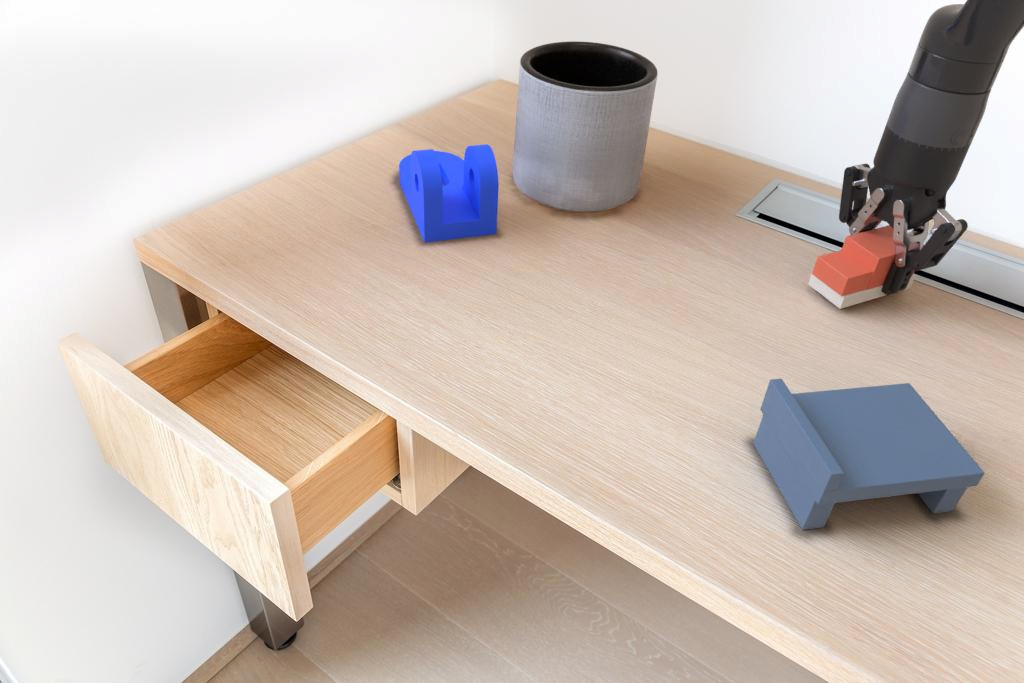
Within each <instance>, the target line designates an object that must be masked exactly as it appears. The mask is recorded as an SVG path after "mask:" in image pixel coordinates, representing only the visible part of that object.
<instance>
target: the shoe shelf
mask: <svg viewBox="0 0 1024 683" xmlns="http://www.w3.org/2000/svg"><path fill="white" fill-rule="evenodd" d="M760 412H761V413H762V417H761V421H760V423H759V426H758V429H757V430H756V434H755V438H754V440H753V446H754V448H755V450H756V451H757V453H758V455H759V456H760V459H761V460H762V462H763V464H764V465H765V467H766V469H767V471H768V472H769V474H770V475H771V478H772V479H773V481H774V483H775V485H776V487H777V488H778V490H779V491H780V493H781V495H782V497H783V498H784V500H785V503H786V504H787V506H788V508H789V509H790V511H791V513H792V515H793V516H794V518H795V520H796V522H797V523H798V525H799V527H800V528H801V530H802V531H804V530H806V531H807V530H812V529H822V528H824V527H825V525H826V523H827V521H828V519H829V517H830V515H831V513H832V510H833V508H834V507H835V504H837V503H845V502H854V501H862V500H870V499H878V498H880V499H881V498H888V497H896V496H904V495H913V494H917V495H918V496H919V497H920V499H921V500H922V501H923V503H924V504H925V505H926V507H927V508H928V510H929V511H930V512H931V513H932V514H941V513H949V512H953V511H954V510H955V508H956V506H957V505H958V504H959V502H960V501H961V499H962V497H963V496H964V494H965V493H966V491H967V489H968V488H972V487H977V486H978V485H979V483H980V482H981V480H982V478H983V477H984V476H985V474H986V473H985V471H984V470H983V469H982V467H980V465H979V464H978V463H977V461H976V460H975V459H974V458H973V456H971V455H970V453H969V452H968V451H967V449H965V447H964V446H963V445H962V444H961V442H959V440H958V439H957V438H956V437H955V436H954V434H953V433H952V432H951V431H950V430H949V429H948V427H947V426H946V425H945V424H944V422H943V421H942V420H941V419H940V418H939V417H938V416H937V414H936V413H935V411H933V409H932V408H931V407H930V406H929V405H928V403H927V402H926V401H925V400H924V399H923V397H922V396H921V395H920V394H919V392H917V390H916V389H915V388H914V387H913V386H912V384H911V383H909V382H906V383H905V382H904V383H896V384H883V385H874V386H873V385H872V386H863V387H861V386H860V387H851V388H850V387H849V388H841V389H831V390H829V389H828V390H819V391H809V392H798V393H792V392H791V391H790V389H789V388H788V386H787V385H786V383H785V381H784V380H783V378H772V379H769V382H768V385H767V388H766V391H765V394H764V397H763V400H762V403H761V405H760Z"/></svg>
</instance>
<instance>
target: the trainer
mask: <svg viewBox="0 0 1024 683" xmlns="http://www.w3.org/2000/svg"><path fill="white" fill-rule="evenodd" d="M924 245H925V244H923V246H924ZM909 247H910V246H909ZM895 249H896V244H895V243H893V228H892V227H891V226H890V225H889V224H888V225H885V226H881V227H876V228H875V229H873V230H869V231H865V232H861V233H857V234H853V235H851V234H849V235H846V236H845V239H844V242H843V245H842V248H841V250H837V251H832V252H829V253H826V254H821V255H819V256H817V257H816V260H815V263H814V266H813V269H812V272H811V274H810V277H809V280H808V283H807V284H808V286H809V287H811V288H812V289H814V290H815V291H816V292H818V293H819V294H820V295H821V296H822V297H824V299H826V300H827V301H829V302H830V303H831V304H833V305H834V306H835V307H837V308H838V309H840V310H841V309H845V308H848V307H851V306H855V305H857V304H862V303H864V302H868V301H871V300H874V299H878V298H881V297H885V296H887V295H886V294H884V293H883V292H882V291H881V290H882V287H883V284H884V282H885V279H886V277H887V274H888V272H889V269H890V267H891V264H892V263H894V262H895ZM914 274H915V271H913V273H912V276H911V278H910V280H909V283H908V285H907V287H906V288H905V289H904V290H903V291H905V290H908V289H911V287H912V285H913V283H914V281H915V279H916V276H915V275H914Z"/></svg>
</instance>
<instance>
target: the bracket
mask: <svg viewBox="0 0 1024 683" xmlns="http://www.w3.org/2000/svg"><path fill="white" fill-rule="evenodd" d="M398 172H399V174H398V175H399V176H398V177H399V185H400V187H401V190H402V193H403V195H404V196H405V199H406V202H407V204H408V206H409V209H410V211H411V213H412V216H413V219H414V221H415V223H416V225H417V228H418V230H419V233H420V235H421V237H422V240H423V243H433V242H441V241H449V240H458V239H468V238H474V237H475V238H476V237H484V236H492V235H497V230H498V208H499V187H500V186H499V172H498V165H497V161H496V157H495V154H494V150H493V149H492V146H490V145H489V144H477V145H476V144H475V145H468V146H466V148H465V150H464V157H463V158H461V157H460V156H458V155H456V154H453V153H452V152H451V153H450V152H446V151H443V150H441V151H440V150H434V149H433V148H429V149H417V150H412V151H411V154H408V155H406V156H404V157H403V158H402V159H401V160H400V162H399V163H398Z"/></svg>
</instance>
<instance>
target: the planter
mask: <svg viewBox="0 0 1024 683" xmlns="http://www.w3.org/2000/svg"><path fill="white" fill-rule="evenodd" d="M518 71H519V72H518V87H517V99H516V116H515V127H514V140H513V151H512V152H513V153H512V165H511V166H512V167H511V168H512V169H511V170H512V181H513V182H514V184H515V186H516V187H517V189H519V191H521V192H522V193H523V194H524V195H525V196H526V197H527V198H528V199H530V200H532V201H533V202H536V203H537V204H539V205H541V206H544V207H546V208H549V209H553V210H557V211H559V212H560V211H561V212H568V213H574V214H575V213H576V214H590V213H591V214H592V213H593V214H594V213H600V212H605V211H610V210H613V209H615V208H618V207H620V206H622V205H624V204H626V203H628V202H629V201H631V200H632V199H633V198H634V197H636V195H637V194H638V191H639V189H640V185H641V181H642V177H643V176H642V175H643V170H644V164H645V155H646V150H647V144H648V138H649V137H648V136H649V130H650V124H651V117H652V112H653V105H654V99H655V92H656V86H657V80H658V74H659V72H658V68H657V67H656V65H655V63H653V61H651V60H650V59H649V58H647V57H645V56H644V55H642V54H639V53H638V52H636V51H633V50H630V49H628V48H625V47H620V46H617V45H612V44H607V43H602V42H593V41H580V40H579V41H557V42H549V43H545V44H541V45H537V46H534V47H533V48H531V49H528V50H527V51H526V52H524V53H523V54H522V55H521V57H520V59H519V69H518Z"/></svg>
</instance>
